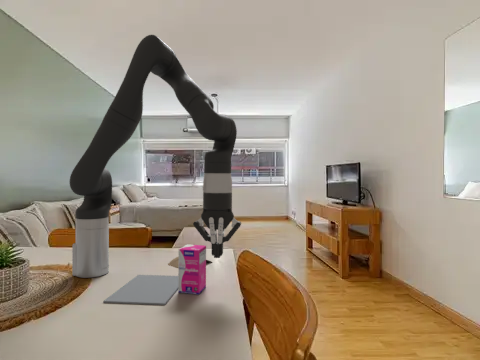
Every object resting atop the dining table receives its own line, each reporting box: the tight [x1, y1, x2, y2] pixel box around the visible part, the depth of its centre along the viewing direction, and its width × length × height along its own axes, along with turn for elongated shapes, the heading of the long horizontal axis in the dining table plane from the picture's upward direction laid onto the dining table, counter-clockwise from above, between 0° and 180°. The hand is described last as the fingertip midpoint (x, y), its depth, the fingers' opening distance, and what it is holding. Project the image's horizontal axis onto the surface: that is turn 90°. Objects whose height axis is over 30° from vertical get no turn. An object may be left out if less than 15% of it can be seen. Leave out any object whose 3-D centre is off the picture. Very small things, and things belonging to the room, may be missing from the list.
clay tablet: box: [167, 255, 212, 270], centre depth 108 cm, size 14×10×3 cm
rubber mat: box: [102, 274, 178, 306], centre depth 83 cm, size 15×20×1 cm
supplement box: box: [177, 243, 207, 296], centre depth 82 cm, size 6×6×12 cm
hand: (217, 257), depth 81 cm, fingers closed
